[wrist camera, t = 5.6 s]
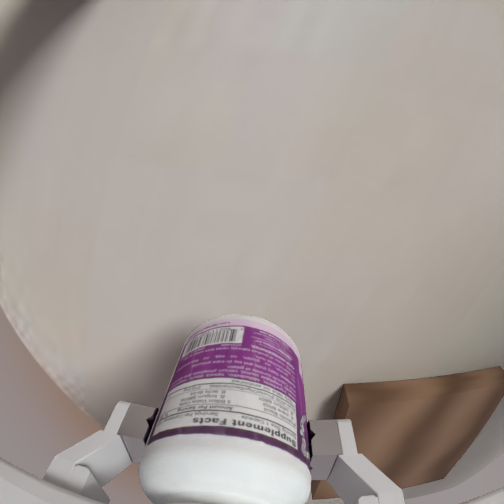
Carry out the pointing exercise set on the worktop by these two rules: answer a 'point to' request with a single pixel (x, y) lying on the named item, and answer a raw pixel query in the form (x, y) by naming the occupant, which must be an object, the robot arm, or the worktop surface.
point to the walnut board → (417, 423)
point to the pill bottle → (231, 420)
